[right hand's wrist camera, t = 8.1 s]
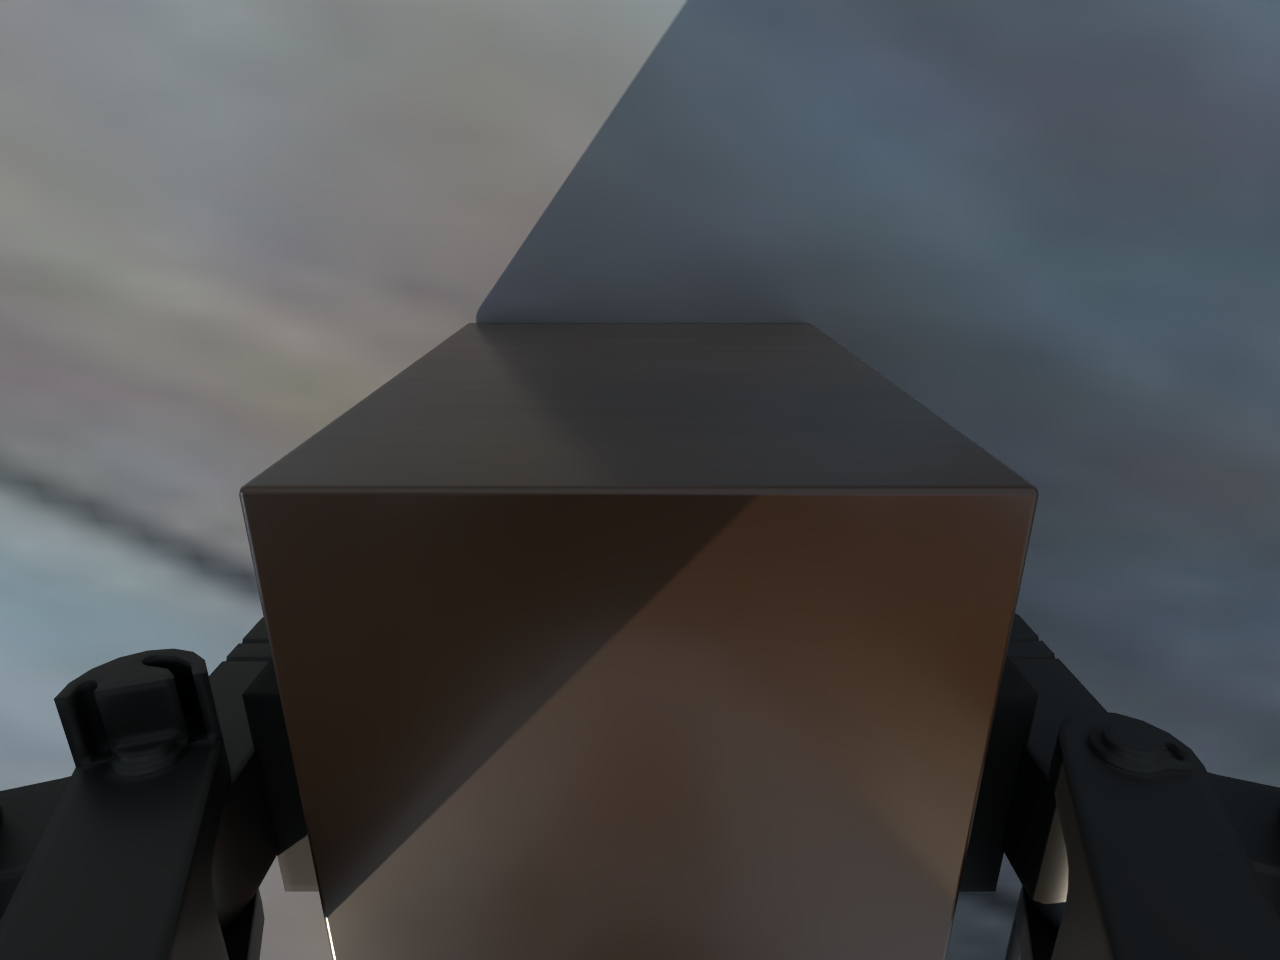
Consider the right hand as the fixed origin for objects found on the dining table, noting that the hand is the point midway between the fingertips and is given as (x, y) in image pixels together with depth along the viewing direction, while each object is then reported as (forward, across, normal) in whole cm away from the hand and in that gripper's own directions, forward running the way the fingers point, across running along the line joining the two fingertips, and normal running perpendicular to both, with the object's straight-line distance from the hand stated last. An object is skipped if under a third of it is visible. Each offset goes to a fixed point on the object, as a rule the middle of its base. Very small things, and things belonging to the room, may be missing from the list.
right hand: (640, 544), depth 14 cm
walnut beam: (0, 0, -12) cm, 12 cm away
